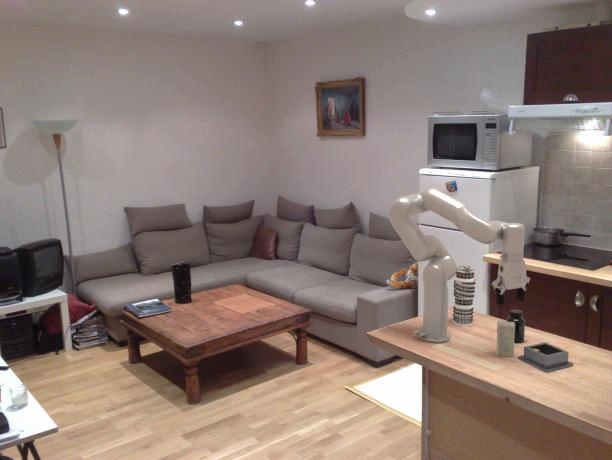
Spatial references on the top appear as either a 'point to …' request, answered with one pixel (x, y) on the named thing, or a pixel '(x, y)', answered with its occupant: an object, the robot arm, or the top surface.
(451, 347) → the top surface
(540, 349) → the socket
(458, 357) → the top surface
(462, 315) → the decorative candle
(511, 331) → the skincare box
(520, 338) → the supplement bottle
